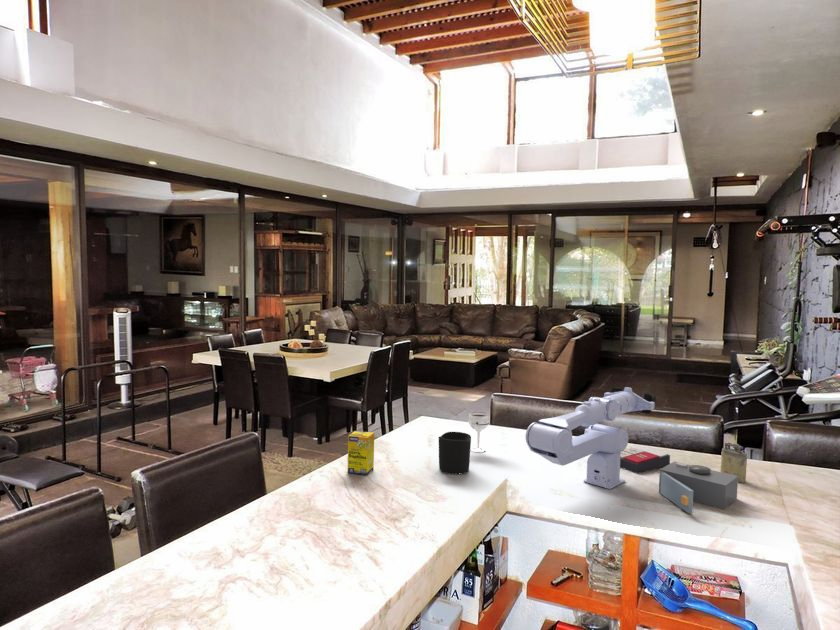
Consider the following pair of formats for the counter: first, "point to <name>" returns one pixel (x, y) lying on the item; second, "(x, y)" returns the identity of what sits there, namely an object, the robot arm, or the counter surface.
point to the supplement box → (360, 452)
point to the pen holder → (454, 452)
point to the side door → (676, 492)
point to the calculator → (643, 459)
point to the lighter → (734, 461)
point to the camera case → (705, 483)
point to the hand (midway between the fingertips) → (642, 396)
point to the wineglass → (478, 423)
